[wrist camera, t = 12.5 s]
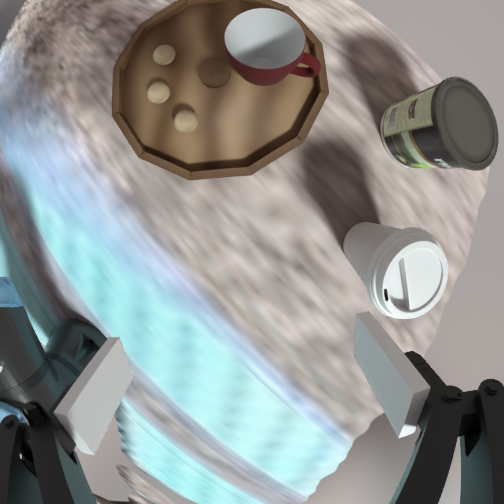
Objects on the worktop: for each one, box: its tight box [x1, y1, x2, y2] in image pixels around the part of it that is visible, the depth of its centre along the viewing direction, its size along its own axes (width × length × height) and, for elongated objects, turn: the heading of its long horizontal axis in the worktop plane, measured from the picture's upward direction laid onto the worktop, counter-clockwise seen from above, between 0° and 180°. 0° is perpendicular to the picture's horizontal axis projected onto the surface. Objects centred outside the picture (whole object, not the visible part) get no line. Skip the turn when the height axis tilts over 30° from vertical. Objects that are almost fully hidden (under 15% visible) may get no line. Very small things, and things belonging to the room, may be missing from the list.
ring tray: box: [112, 0, 329, 180], centre depth 31 cm, size 28×28×3 cm
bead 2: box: [147, 82, 170, 104], centre depth 30 cm, size 3×3×3 cm
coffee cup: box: [343, 222, 448, 319], centre depth 31 cm, size 10×10×15 cm
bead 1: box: [153, 45, 175, 65], centre depth 29 cm, size 3×3×3 cm
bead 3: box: [174, 110, 198, 133], centre depth 31 cm, size 3×3×3 cm
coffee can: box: [380, 77, 498, 170], centre depth 27 cm, size 10×10×14 cm
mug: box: [224, 8, 321, 86], centre depth 26 cm, size 11×8×10 cm
